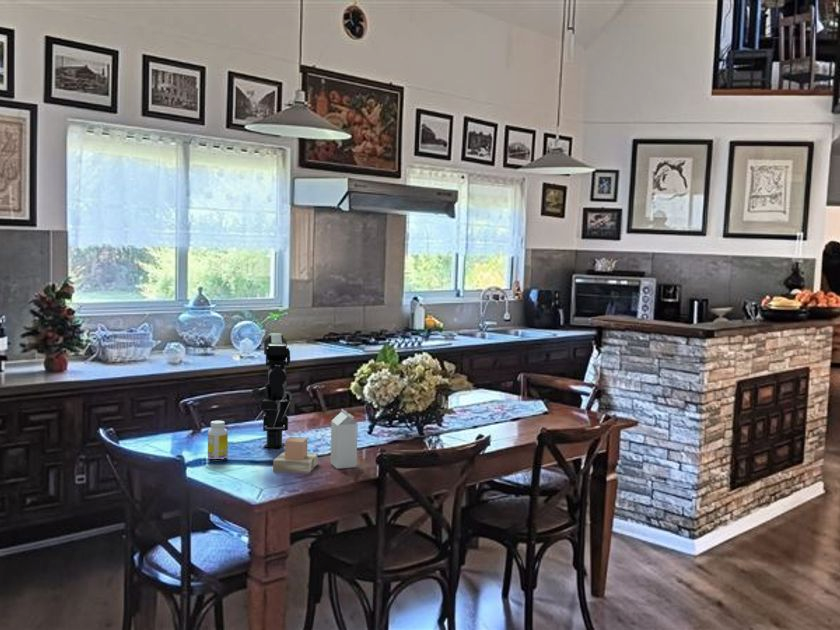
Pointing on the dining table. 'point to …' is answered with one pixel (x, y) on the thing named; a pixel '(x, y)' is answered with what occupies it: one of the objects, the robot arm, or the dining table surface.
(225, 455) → the supplement bottle
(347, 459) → the milk carton
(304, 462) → the birch block
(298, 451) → the tan cube
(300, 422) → the dining table surface
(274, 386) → the robot arm
